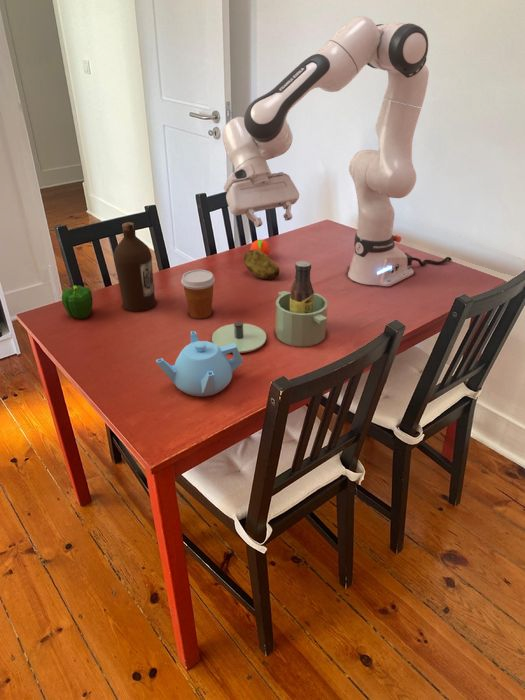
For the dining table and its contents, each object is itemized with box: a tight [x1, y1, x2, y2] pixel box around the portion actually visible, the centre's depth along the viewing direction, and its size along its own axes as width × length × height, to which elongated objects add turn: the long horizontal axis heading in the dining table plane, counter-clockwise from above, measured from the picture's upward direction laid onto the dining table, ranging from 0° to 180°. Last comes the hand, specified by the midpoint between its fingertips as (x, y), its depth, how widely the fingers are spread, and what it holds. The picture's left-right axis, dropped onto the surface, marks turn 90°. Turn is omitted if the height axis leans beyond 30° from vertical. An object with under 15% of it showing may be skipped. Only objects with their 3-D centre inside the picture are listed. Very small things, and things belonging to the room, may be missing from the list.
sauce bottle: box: [290, 260, 315, 314], centre depth 139 cm, size 6×6×20 cm
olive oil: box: [113, 221, 156, 312], centre depth 153 cm, size 11×11×25 cm
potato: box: [243, 249, 281, 280], centre depth 175 cm, size 8×13×8 cm, turn 34°
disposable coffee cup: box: [180, 269, 216, 319], centre depth 152 cm, size 10×10×12 cm
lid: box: [211, 321, 267, 354], centre depth 141 cm, size 15×15×5 cm
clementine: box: [249, 239, 271, 257], centre depth 187 cm, size 8×7×7 cm
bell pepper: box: [61, 285, 93, 320], centre depth 152 cm, size 8×8×10 cm
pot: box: [274, 290, 329, 347], centre depth 142 cm, size 14×19×10 cm
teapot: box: [155, 330, 244, 398], centre depth 123 cm, size 15×15×11 cm
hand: (274, 222), depth 140 cm, fingers open, 8 cm apart
